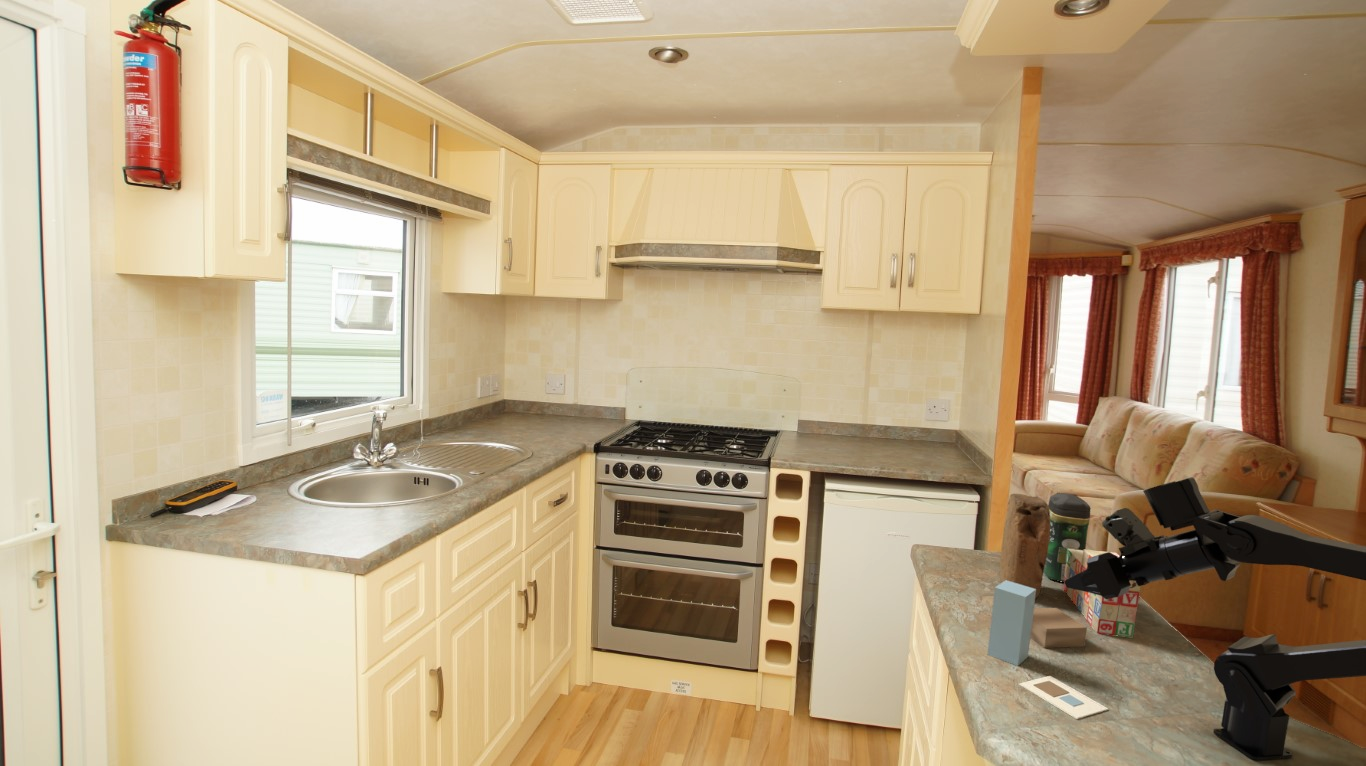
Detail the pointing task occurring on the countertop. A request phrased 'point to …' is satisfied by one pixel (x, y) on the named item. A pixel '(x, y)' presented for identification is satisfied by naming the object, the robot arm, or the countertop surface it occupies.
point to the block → (1025, 541)
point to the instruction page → (1063, 697)
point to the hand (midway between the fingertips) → (1079, 578)
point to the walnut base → (1056, 629)
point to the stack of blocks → (1102, 599)
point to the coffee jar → (1065, 531)
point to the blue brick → (1011, 622)
